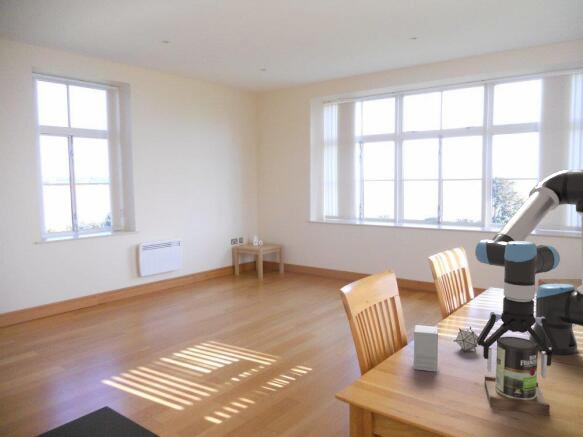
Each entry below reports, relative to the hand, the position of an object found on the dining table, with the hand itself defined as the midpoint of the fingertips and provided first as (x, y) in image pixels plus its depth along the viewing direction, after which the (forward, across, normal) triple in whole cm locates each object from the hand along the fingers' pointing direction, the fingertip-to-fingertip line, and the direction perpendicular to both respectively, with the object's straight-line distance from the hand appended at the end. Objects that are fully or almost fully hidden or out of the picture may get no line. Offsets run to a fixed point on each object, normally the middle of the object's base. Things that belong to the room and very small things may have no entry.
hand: (515, 373), depth 121 cm
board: (+7, 0, 0) cm, 7 cm away
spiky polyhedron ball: (+8, +10, -34) cm, 36 cm away
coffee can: (+6, 0, 0) cm, 6 cm away
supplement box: (+8, +24, -15) cm, 29 cm away
